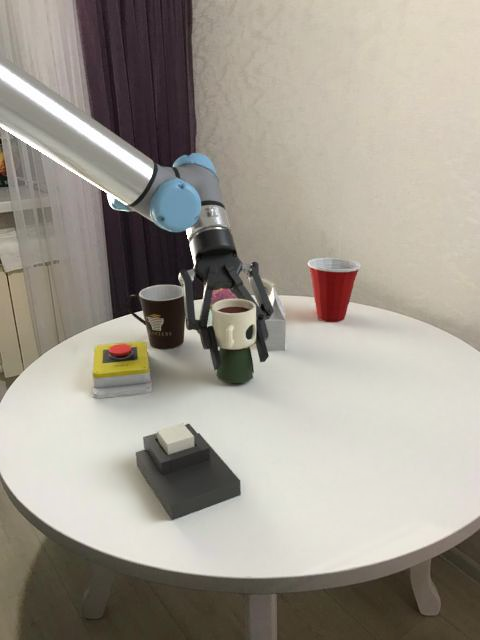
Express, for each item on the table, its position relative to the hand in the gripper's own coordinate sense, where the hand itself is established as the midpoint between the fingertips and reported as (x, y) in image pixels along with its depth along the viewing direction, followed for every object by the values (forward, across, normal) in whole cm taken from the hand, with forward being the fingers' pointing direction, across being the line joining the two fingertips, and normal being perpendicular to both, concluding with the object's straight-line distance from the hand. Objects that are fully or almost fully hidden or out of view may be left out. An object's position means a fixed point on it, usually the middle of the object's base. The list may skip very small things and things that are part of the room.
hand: (241, 362), depth 94 cm
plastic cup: (-13, +27, +19) cm, 36 cm away
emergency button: (-5, -18, +12) cm, 22 cm away
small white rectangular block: (+13, -15, -12) cm, 23 cm away
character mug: (+1, 0, +6) cm, 6 cm away
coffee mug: (-13, -8, +20) cm, 25 cm away
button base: (+18, -14, -11) cm, 25 cm away
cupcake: (-17, +6, +24) cm, 30 cm away
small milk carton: (-7, +11, +14) cm, 19 cm away
